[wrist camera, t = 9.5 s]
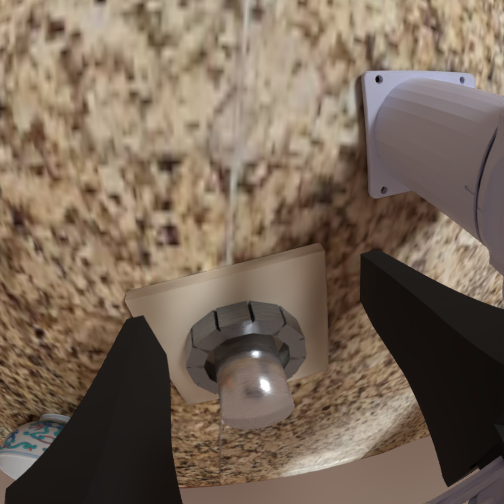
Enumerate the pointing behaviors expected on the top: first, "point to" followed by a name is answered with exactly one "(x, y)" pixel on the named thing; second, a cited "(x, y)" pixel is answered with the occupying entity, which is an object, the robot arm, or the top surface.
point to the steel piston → (251, 382)
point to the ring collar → (237, 324)
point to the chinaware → (29, 443)
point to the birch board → (234, 291)
